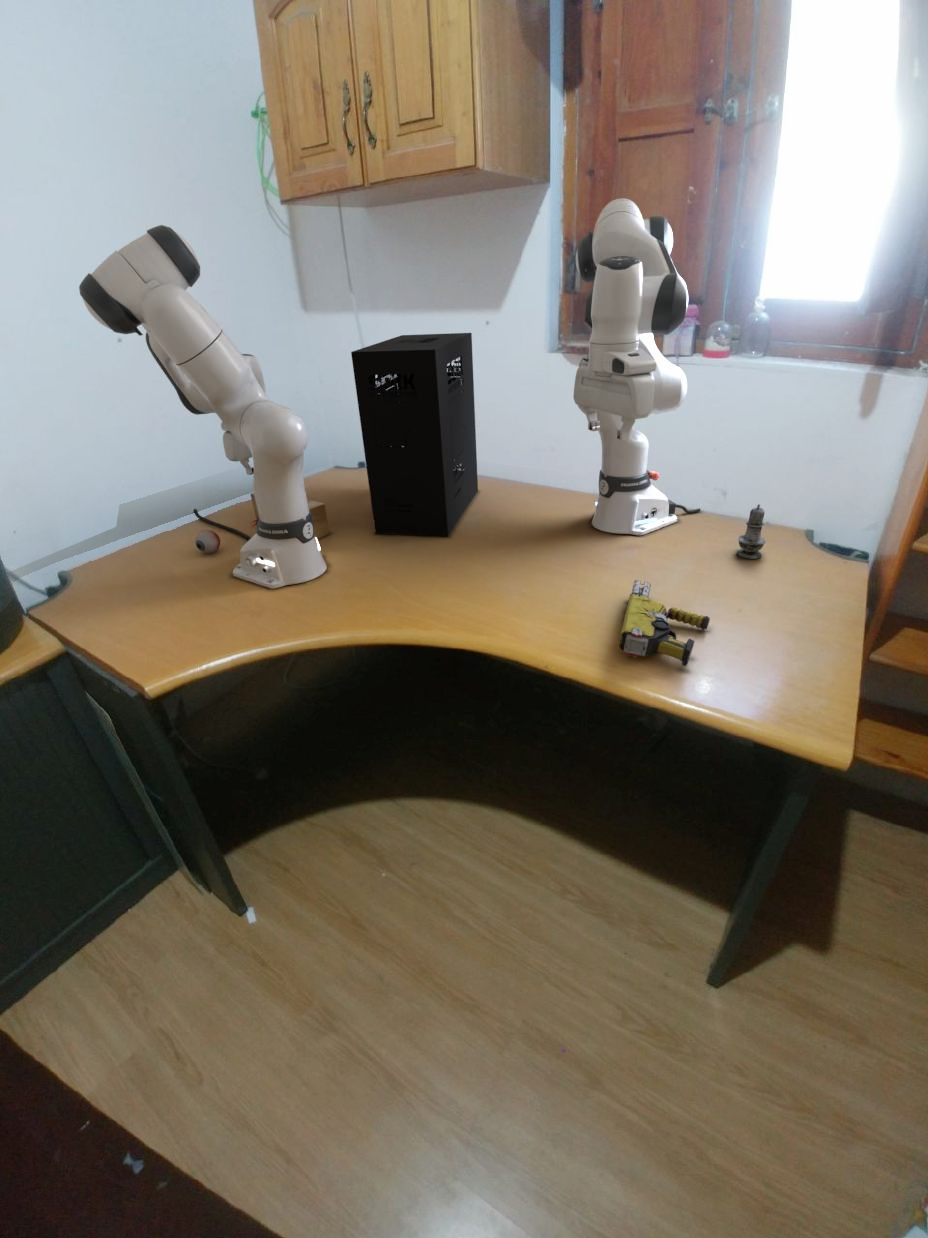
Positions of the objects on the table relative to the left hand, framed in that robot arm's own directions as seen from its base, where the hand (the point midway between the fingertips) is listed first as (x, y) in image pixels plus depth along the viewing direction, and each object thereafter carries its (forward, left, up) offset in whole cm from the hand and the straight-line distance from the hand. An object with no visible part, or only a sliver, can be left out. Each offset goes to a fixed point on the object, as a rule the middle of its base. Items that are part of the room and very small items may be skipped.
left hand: (264, 469), depth 169 cm
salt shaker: (+127, +12, -15) cm, 128 cm away
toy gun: (+113, -28, -15) cm, 118 cm away
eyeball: (-1, -25, -15) cm, 29 cm away
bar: (+9, -4, -15) cm, 18 cm away
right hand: (+96, -9, +16) cm, 98 cm away
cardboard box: (+41, +19, -15) cm, 48 cm away
